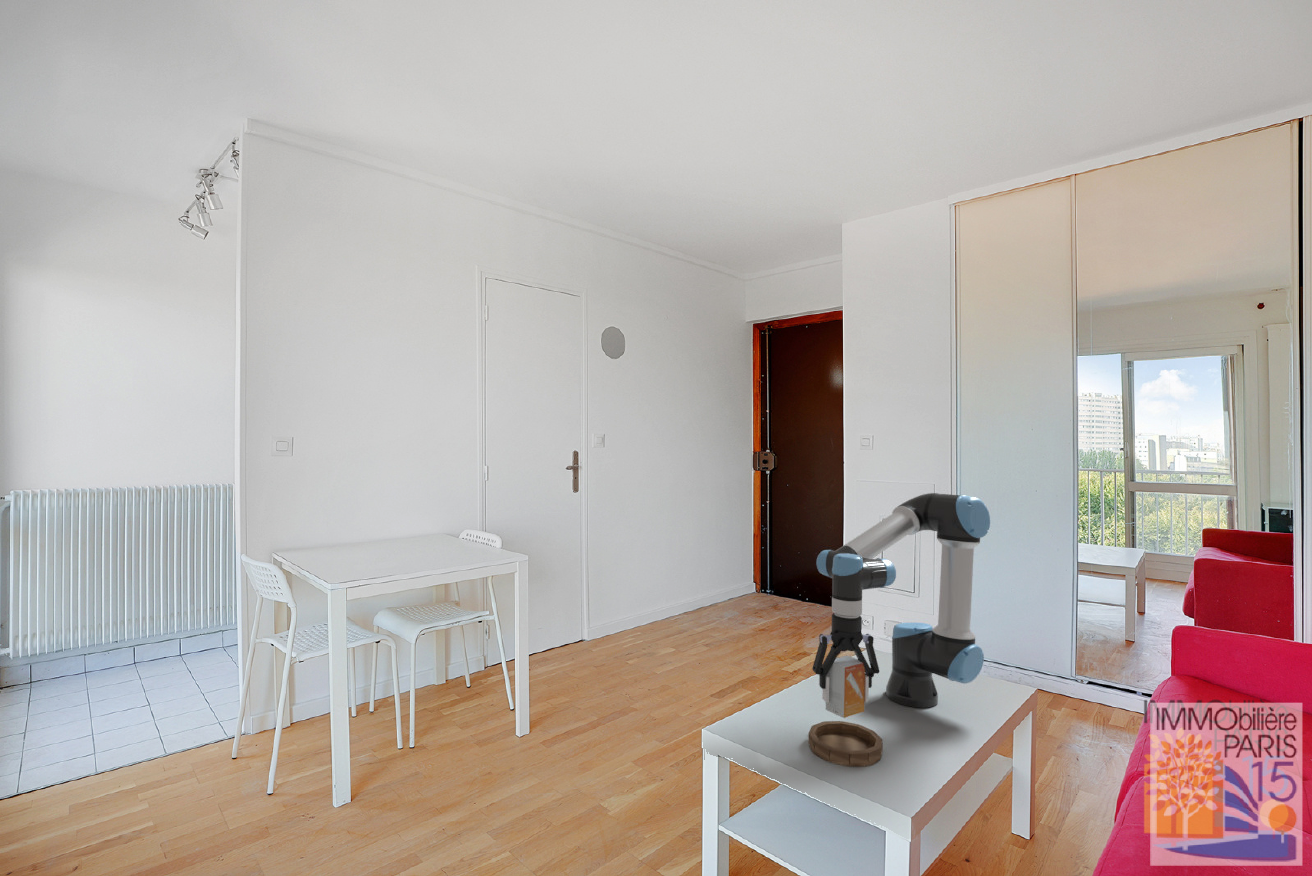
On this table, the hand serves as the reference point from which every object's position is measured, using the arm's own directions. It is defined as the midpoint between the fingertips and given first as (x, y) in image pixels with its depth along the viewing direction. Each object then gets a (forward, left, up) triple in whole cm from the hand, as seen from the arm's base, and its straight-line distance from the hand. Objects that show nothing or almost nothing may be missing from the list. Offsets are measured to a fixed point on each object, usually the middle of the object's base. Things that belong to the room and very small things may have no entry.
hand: (845, 700), depth 164 cm
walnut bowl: (0, 0, -13) cm, 13 cm away
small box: (0, 0, -3) cm, 3 cm away
